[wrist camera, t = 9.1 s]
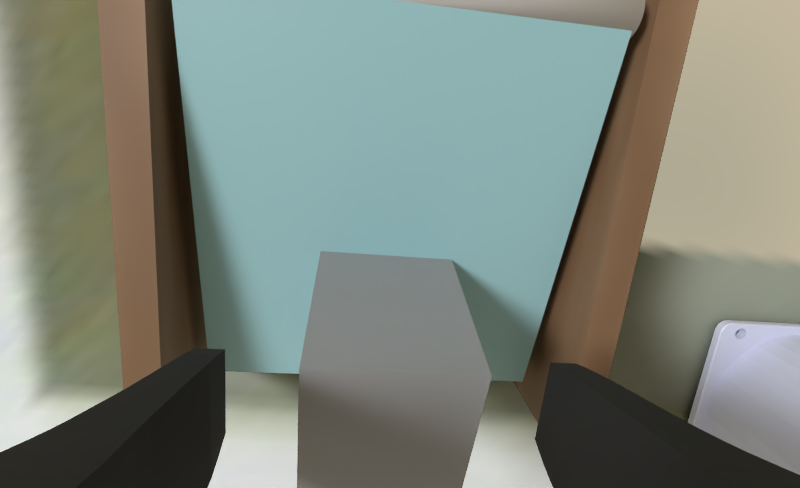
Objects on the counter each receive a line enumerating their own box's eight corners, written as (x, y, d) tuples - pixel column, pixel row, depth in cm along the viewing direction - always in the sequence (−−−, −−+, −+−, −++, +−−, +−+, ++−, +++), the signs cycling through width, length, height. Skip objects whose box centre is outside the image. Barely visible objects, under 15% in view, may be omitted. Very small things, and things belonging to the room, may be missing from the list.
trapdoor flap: (629, -184, 12) (729, -256, 9) (498, 320, 20) (526, 383, 16) (197, -263, 11) (124, -383, 8) (234, 306, 19) (205, 372, 15)
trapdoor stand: (579, 26, 17) (705, -26, 11) (519, 357, 21) (589, 459, 15) (195, -23, 16) (88, -117, 9) (202, 344, 19) (127, 452, 13)
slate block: (451, 259, 14) (491, 376, 10) (433, 359, 16) (459, 496, 11) (320, 251, 14) (298, 369, 9) (316, 354, 15) (296, 495, 11)
